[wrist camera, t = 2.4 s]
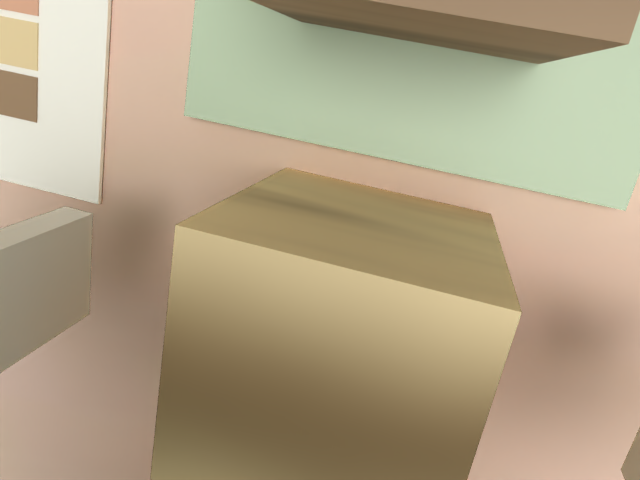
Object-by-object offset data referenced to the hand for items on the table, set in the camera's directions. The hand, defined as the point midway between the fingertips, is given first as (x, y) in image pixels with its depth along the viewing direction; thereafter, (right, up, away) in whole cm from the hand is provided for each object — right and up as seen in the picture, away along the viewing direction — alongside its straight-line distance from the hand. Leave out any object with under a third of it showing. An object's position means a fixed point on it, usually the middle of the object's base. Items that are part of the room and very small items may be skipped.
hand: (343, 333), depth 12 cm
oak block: (+1, +1, +4) cm, 4 cm away
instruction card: (-10, +8, +5) cm, 14 cm away
